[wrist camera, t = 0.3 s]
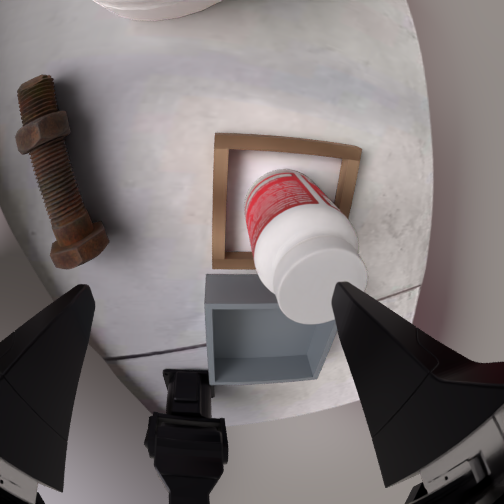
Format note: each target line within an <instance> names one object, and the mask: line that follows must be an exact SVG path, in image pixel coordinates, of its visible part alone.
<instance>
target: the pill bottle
mask: <svg viewBox="0 0 504 504" xmlns="http://www.w3.org/2000/svg"><path fill="white" fill-rule="evenodd" d="M244 211H245V218H246V223H247V228H248V233H249V238H250V243H251V248H252V254H253V259H254V264H255V267H256V271H257V274H258V276H259V278H260V280H261V281H262V283H263V284H264V285H265V286H266V288H268V289H269V290H270V291H271V292H272V293H274V294H275V296H276V298H277V301H278V304H279V307H280V309H281V311H282V312H283V313H284V314H285V315H286V316H287V317H288V318H289V319H291V320H293V321H295V322H298V323H302V324H320V323H325V322H329V321H331V320H334V319H335V318H334V313H333V309H332V305H331V300H332V296H333V292H334V288H335V285H336V283H337V282H343V281H347V282H349V283H351V284H352V285H354V286H355V287H357V288H358V289H360V290H362V291H363V292H364V291H365V289H366V286H367V281H368V272H367V268H366V265H365V263H364V261H363V260H362V258H361V257H360V255H359V254H358V253H359V243H358V237H357V234H356V231H355V229H354V227H353V225H352V224H351V223H350V221H349V220H348V218H347V217H346V216H345V215H344V214H343V213H342V212H341V211H340V210H339V209H338V208H337V207H336V206H335V205H334V203H333V202H332V201H331V200H330V199H329V198H328V197H327V196H326V195H325V194H324V193H323V192H322V191H321V190H320V189H319V188H318V187H317V186H316V185H315V183H314V182H312V181H311V180H310V179H309V178H308V177H307V176H305V175H303V174H302V173H299V172H297V171H293V170H286V169H283V170H275V171H271V172H269V173H266V174H265V175H263V176H261V177H260V178H259V179H258V180H256V181H255V182H254V184H253V185H252V186H251V188H250V189H249V191H248V193H247V195H246V199H245V204H244Z"/></svg>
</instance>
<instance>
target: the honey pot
mask: <svg viewBox="0 0 504 504" xmlns="http://www.w3.org/2000/svg"><path fill="white" fill-rule="evenodd" d="M93 1H94V2H96V3H98V4H99V5H101V6H102V7H104V8H106V9H107V10H109V11H111V12H112V13H114V14H116V15H117V16H120V17H124V18H128V19H132V20H136V21H161V20H167V19H174V18H180V17H183V16H186V15H189V14H193V13H196V12H199V11H202V10H204V9H206V8H208V7H210V6H212V5H214V4H216V3H218V2H220V1H222V0H93Z"/></svg>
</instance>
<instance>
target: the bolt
mask: <svg viewBox="0 0 504 504" xmlns="http://www.w3.org/2000/svg"><path fill="white" fill-rule="evenodd" d="M53 80H54V79H53V78H51V76H50V75H48V76H47V75H40V76H38V77H35V78H33V79H31V80H29V81H27V82H25V83H23V84H22V85H21V86H20V87H19V89H18V91H17V93H18V95H17V97H19V98H18V100H19V103H18V104H20V106H19V108H21V109H20V112H21V114H20V115H21V116H22V117H21V119H22V120H23V121H22V123H23V127H22V128H20V129H19V130H18V132H17V134H16V136H15V138H16V143H17V147H18V151H19V152H20V153H21V154H22V155H23V154H27V153H29V155H31V157H30V159H32V161H31V163H34V164H33V165H32V167H35V168H34V170H33V171H36V172H35V174H34V175H37V177H36V179H38V181H37V183H39V186H38V187H40V190H39V191H42V193H41V195H43V198H42V199H45V200H44V203H46V204H45V207H47V209H46V211H49V212H48V215H50V216H49V219H51V224H52V230H53V232H54V235H55V237H56V239H57V241H55V242H54V243H52V248H51V253H50V256H51V259H52V261H53V263H54V265H55V267H56V268H61V269H72V268H74V267H77V266H79V265H82V264H84V263H86V262H88V261H90V260H92V259H94V258H95V257H97V256H98V255H99V254H100V253H101V252H102V251H103V250H104V249H105V248H106V246H107V245H108V243H109V239H108V237H107V234H106V232H105V229H104V226H103V224H102V221H99V222H95V223H92V222H91V219H90V216H89V214H88V211H87V210H86V209H85V206H84V203H83V202H82V201H83V200H82V198H81V195H79V194H80V191H78V189H79V188H78V187H76V186H77V185H78V184H76V183H75V182H76V180H75V179H74V177H75V176H74V175H73V173H74V172H73V171H71V170H72V169H73V168H71V167H70V166H71V165H72V164H70V163H69V162H70V160H69V159H68V158H69V156H67V154H68V152H66V150H67V148H65V146H66V144H64V142H65V140H63V138H64V137H65V136H67V135H69V134H70V127H69V123H68V118H67V114H66V111H58V109H57V106H58V105H56V103H57V101H55V100H56V97H54V96H55V95H56V94H55V93H54V92H55V90H54V87H55V86H54V82H53ZM57 111H58V112H57Z"/></svg>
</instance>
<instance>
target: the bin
mask: <svg viewBox="0 0 504 504" xmlns="http://www.w3.org/2000/svg"><path fill="white" fill-rule="evenodd" d="M204 305H205V325H206V342H207V357H208V371H209V383H210V385H248V384H268V383H283V382H294V381H304V380H314V379H317V378H318V376H319V373H320V371H321V369H322V366H323V364H324V362H325V359H326V357H327V355H328V352H329V350H330V347H331V345H332V342H333V340H334V337H335V335H336V332H337V326H336V322H335V319H334V320H331V321H329V322H325V323H320V324H302V323H298V322H295V321H293V320H291V319H289V318H288V317H287V316H286V315H285V314H284V313H283V312H282V311H281V309H280V307H279V304H278V301H277V298H276V296H275V294H274V293H272V292H271V291H270V290H269V289H268V288H266V286H265V285H264V284H263V283H262V281H261V280H260V278H259V276H258V275H229V274H206V284H205V302H204Z"/></svg>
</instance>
